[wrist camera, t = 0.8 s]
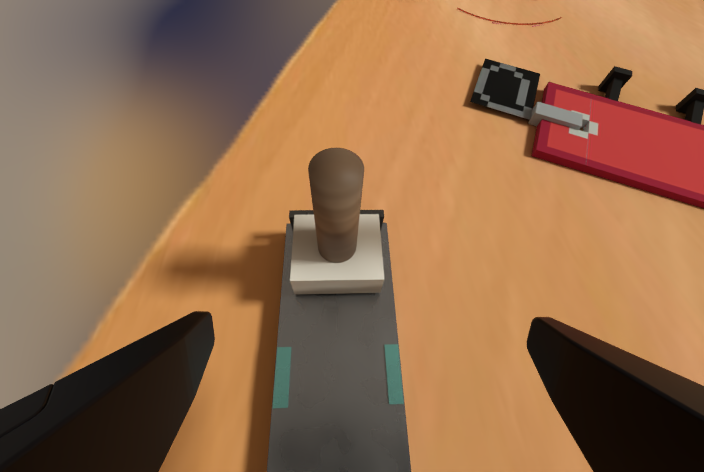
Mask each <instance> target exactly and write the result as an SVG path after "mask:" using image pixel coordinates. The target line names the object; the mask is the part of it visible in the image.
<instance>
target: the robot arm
mask: <svg viewBox="0 0 704 472" xmlns="http://www.w3.org/2000/svg"><path fill="white" fill-rule="evenodd" d="M214 340H215V337H214V329H213V321H212V316H211V313H210V312H204V311H195V312H192V313H190V314H188V315H186V316H184V317H182V318H180V319H178V320H177V321H175V322H173V323H171V324H169V325H167V326H165V327H163V328H161V329H159V330H157V331H155V332H153V333H151V334H149V335H147V336H145V337H143V338H141V339H139V340H137V341H135V342H133V343H131V344H129V345H127V346H125V347H123V348H121V349H119V350H117V351H115V352H113V353H111V354H109V355H107V356H105V357H103V358H102V359H100V360H98V361H96V362H94V363H92V364H90V365H88V366H86V367H84V368H82V369H80V370H78V371H76V372H74V373H72V374H70V375H68V376H66V377H64V378H62V379H60V380H58V381H56V382H55V383H54V385H53V384H50V385H48V386H46V387H44V388H42V389H40V390H38V391H36V392H34V393H33V394H31V395H28V396H26V397H24V398H22V399H20V400H18V401H16V402H14V403H12V404H10V405H8V406H6V407H4V408H2V409H0V472H159V470H160V467H161V465H162V463H163V461H164V459H165V457H166V455H167V453H168V451H169V449H170V447H171V445H172V443H173V441H174V439H175V437H176V435H177V433H178V431H179V429H180V427H181V425H182V423H183V421H184V418H185V416H186V414H187V412H188V410H189V408H190V406H191V404H192V402H193V400H194V398H195V395H196V392H197V390H198V387H199V385H200V382H201V379H202V376H203V373H204V371H205V368H206V365H207V362H208V360H209V357H210V354H211V351H212V349H213V346H214ZM527 349H528V352H529V354H530V356H531V358H532V360H533V362H534V364H535V367H536V369H537V371H538V373H539V375H540V377H541V379H542V382H543V384H544V386H545V388H546V390H547V392H548V394H549V396H550V398H551V400H552V402H553V404H554V406H555V407H556V409H557V411H558V413H559V414H560V416H561V418H562V419H563V421H564V423H565V424H566V426H567V428H568V429H569V431H570V433H571V435H572V436H573V438H574V440H575V441H576V443H577V445H578V446H579V448H580V450H581V451H582V453H583V455H584V457H585V458H586V460H587V462H588V463H589V465H590V467H591V468H592V470H593V472H704V386H702V385H700V384H698V383H696V382H693V381H691V380H689V379H687V378H684V377H682V376H680V375H678V374H676V373H673V372H671V371H669V370H667V369H664V368H662V367H660V366H658V365H655V364H653V363H651V362H649V361H647V360H644V359H642V358H640V357H638V356H635V355H633V354H631V353H629V352H626V351H624V350H622V349H620V348H618V347H615V346H613V345H611V344H609V343H606V342H604V341H602V340H600V339H597V338H595V337H593V336H591V335H589V334H586V333H584V332H582V331H580V330H577V329H575V328H573V327H571V326H568V325H566V324H564V323H562V322H559V321H557V320H555V319H553V318H550V317H535V318H534V319H533V320H532V323H531V326H530V330H529V334H528V338H527Z"/></svg>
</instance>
